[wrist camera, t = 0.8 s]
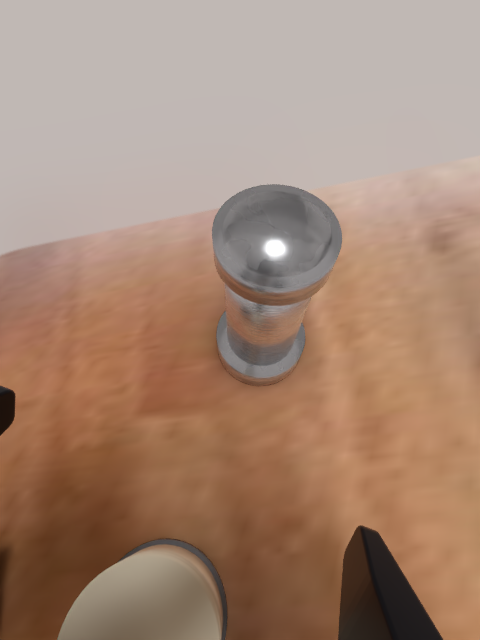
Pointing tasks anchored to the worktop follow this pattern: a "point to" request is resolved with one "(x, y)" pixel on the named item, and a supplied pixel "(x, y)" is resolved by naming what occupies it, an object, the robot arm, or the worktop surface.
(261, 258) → the metal knob
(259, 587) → the worktop surface
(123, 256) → the worktop surface
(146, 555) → the fitting stand
